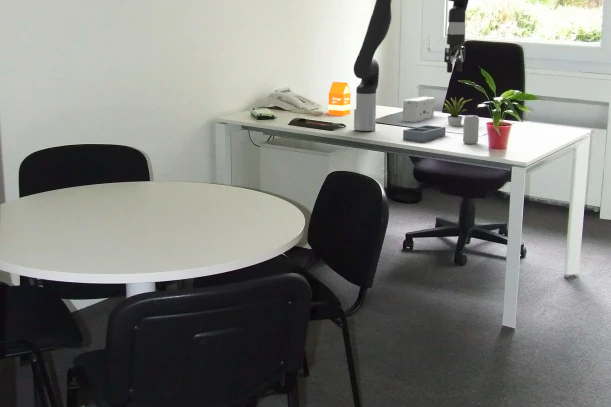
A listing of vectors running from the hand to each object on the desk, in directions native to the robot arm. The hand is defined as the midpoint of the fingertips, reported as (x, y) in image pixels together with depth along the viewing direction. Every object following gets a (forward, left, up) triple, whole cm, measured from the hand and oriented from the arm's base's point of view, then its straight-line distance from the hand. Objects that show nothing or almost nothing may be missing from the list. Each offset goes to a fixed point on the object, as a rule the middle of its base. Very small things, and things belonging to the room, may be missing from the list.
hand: (454, 71), depth 340 cm
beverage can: (+7, +4, -31) cm, 32 cm away
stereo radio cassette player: (-40, +41, -31) cm, 65 cm away
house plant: (-17, +38, -31) cm, 52 cm away
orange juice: (-79, +26, -31) cm, 89 cm away
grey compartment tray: (-15, +3, -31) cm, 34 cm away
